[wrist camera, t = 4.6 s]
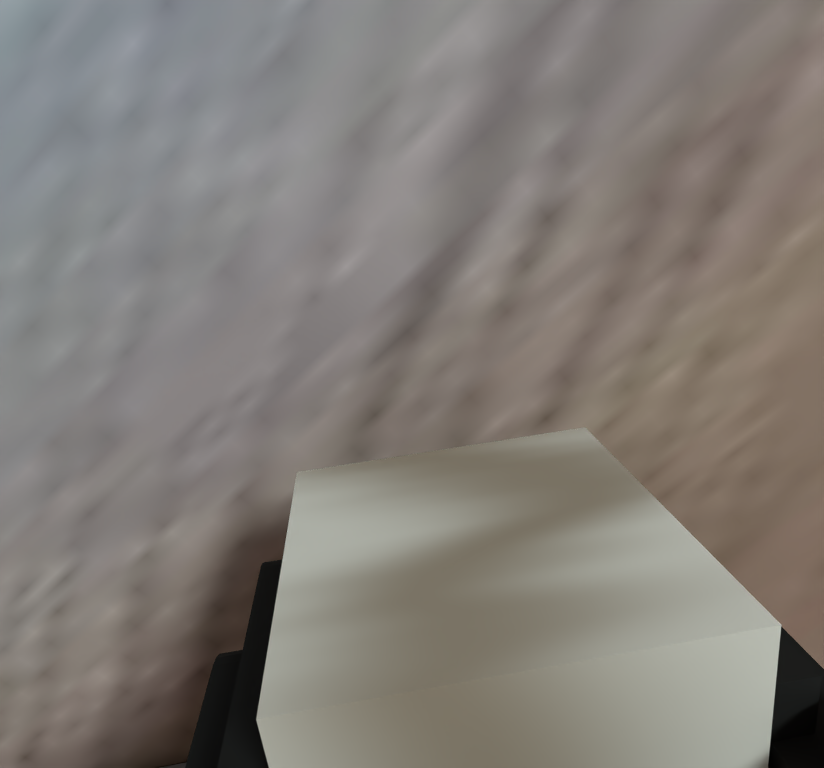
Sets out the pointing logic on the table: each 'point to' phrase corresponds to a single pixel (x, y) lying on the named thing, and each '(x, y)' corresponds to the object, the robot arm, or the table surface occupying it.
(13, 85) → the table surface
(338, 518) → the cream cube
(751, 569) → the table surface
